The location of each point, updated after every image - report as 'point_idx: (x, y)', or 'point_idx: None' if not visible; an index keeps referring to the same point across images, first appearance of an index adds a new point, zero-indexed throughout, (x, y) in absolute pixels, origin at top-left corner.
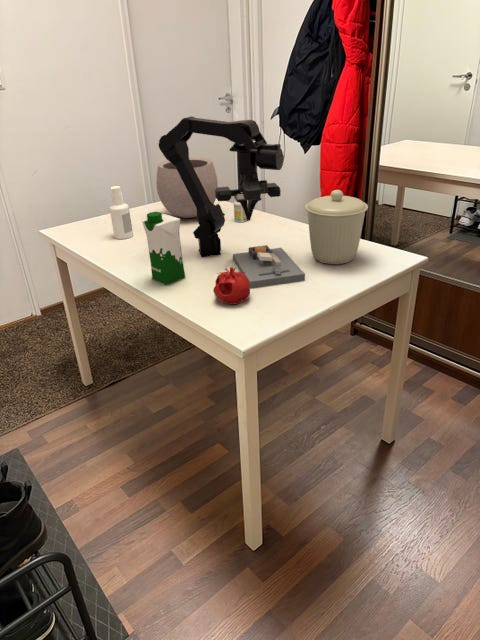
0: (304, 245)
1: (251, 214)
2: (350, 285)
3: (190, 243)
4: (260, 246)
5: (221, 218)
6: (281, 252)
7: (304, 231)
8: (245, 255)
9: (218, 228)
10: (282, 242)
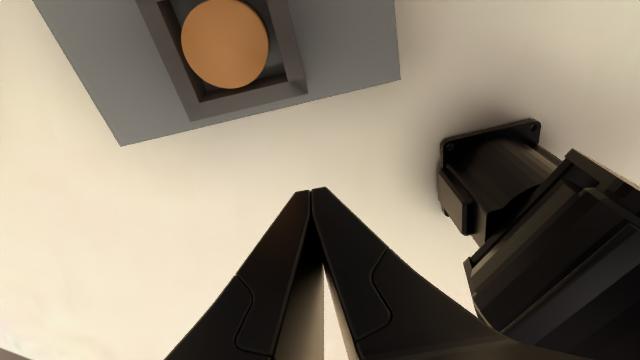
0: (36, 218)
1: (271, 229)
2: None
3: None
4: (226, 78)
5: (522, 299)
6: (100, 68)
7: (83, 340)
8: (327, 45)
9: (522, 224)
10: (155, 253)
